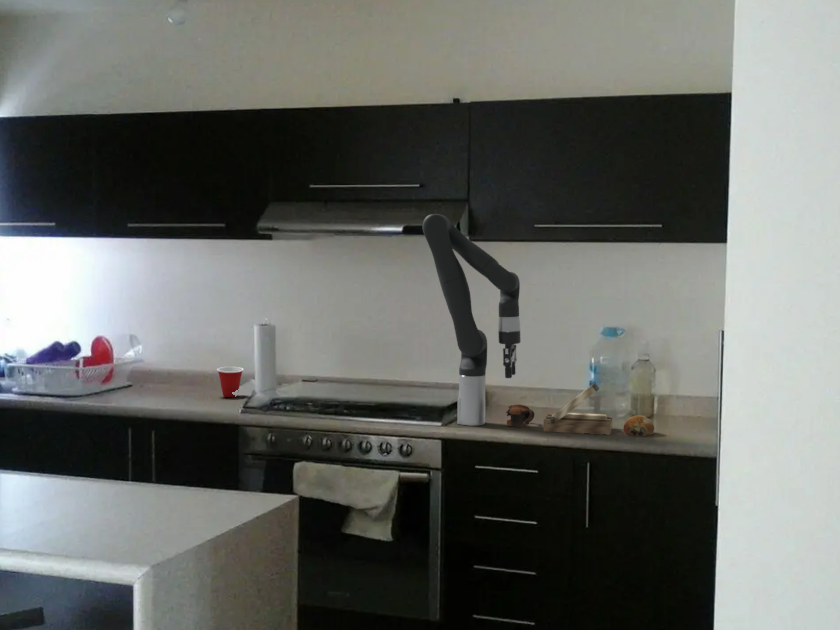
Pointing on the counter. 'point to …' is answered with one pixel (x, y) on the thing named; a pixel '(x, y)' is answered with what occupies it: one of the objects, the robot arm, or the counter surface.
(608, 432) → the wooden slat frame
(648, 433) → the bread roll
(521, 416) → the pottery mug
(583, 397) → the hinged leg
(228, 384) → the plastic cup
